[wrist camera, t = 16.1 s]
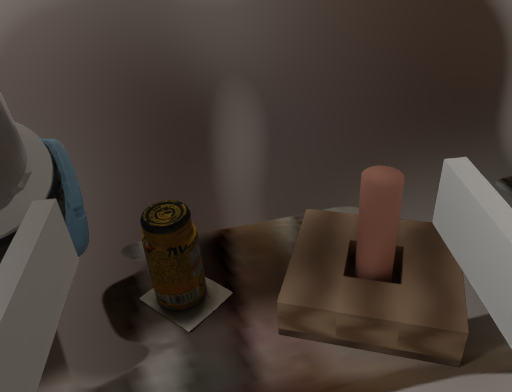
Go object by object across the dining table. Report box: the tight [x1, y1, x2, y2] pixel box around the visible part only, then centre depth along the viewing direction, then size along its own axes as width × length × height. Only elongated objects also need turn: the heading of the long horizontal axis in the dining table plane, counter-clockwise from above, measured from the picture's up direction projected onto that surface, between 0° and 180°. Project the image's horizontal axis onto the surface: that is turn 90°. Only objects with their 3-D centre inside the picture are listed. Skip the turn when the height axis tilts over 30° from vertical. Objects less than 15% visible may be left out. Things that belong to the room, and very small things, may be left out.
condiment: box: [139, 200, 233, 332], centre depth 53 cm, size 7×8×12 cm
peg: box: [355, 166, 405, 283], centre depth 50 cm, size 4×4×15 cm
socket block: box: [277, 209, 469, 367], centre depth 53 cm, size 18×16×5 cm
